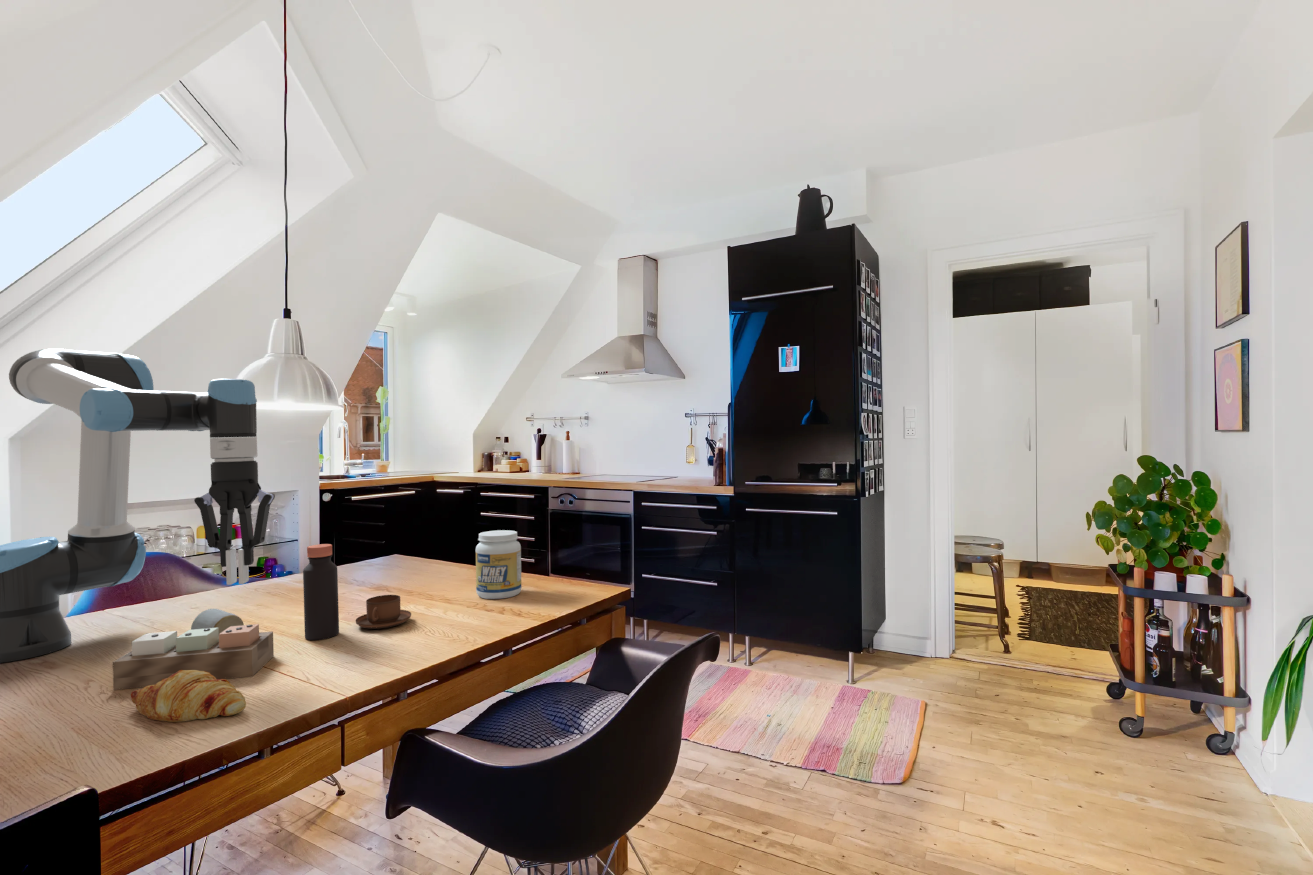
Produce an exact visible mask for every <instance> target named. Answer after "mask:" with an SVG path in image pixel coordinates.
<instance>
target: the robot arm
mask: <svg viewBox="0 0 1313 875" xmlns="http://www.w3.org/2000/svg"><path fill="white" fill-rule="evenodd" d="M8 372H9V373H8V378H9V383H10V385H11V387H12V389H13V390H14V391H15V392H16V393H17V394H18V395H19V396H20V397H21V396H22V397H23V398H25V399H27V400H29V401H32V402H33V403H38V404H43V405H52V404H53V405H56V406H58V407H61V408H63V409H66V410H68V411H71V412H73V413H75V414H76V415H77V416H78V417H79V418H80V420H81V421H80V422H81V423H80V424H81V425H80V443H79V444H80V446H79V447H80V448H79V449H80V450H79V471H78V472H79V474H78V495H77V497H78V499H77V502H78V503H77V523H76V524H75V525H73V526H72V527H71V528H70V529H68V531H67V540H65V541H59V539H58V538H57V537H55V536H41V537H36V538H35V537H34V538H26V539H21V540H17V541H11V542H8V543H4V544H0V664H1V663H9V662H16V661H21V660H26V659H30V658H35V657H40V656H43V655H47V654H50V653H53V652H57V651H59V650H62V649H64V648H66V647H68V646H70V645H71V644H72V633H71V630H70V628H69V626H68V624H67V622H66V620H65V618H64V615H63V613H62V612H61V610H60V596H62V595H68V594H74V593H79V592H85V591H89V590H95V589H100V588H101V589H102V588H110V587H115V586H117V585H121V584H124V583H128V582H131V581H133V580H134V579H136V577H137V576H139V574H140V573H141V572H142V570H143V567H144V565H145V560H146V556H147V554H146V553H147V549H146V548H147V547H146V545H145V539H144V538H143V536H142V535H141V534H139V533H137V532H135V528H136V527H135V526H133V525H132V524H131V523H129V522H128V521H127V520H128V504H129V503H128V501H129V499H128V498H129V478H130V476H129V475H130V456H131V453H130V452H131V433H132V431H134V432H136V431H137V432H138V431H143V432H144V431H147V432H148V431H166V432H167V431H175V432H176V431H177V432H178V431H188V432H204V431H209V448H210V449H209V450H210V452H209V454H210V458H211V460H214V461H212V462H211V464H210V480H211V482H210V483H211V484H210V487H209V488H208V492H207V493H205V494H203V495H201V496H198V497H195V498H194V501H193V502H194V503H195V505H196V506H197V508H198V509H199V511H200V515H201V519H202V524H203V529H204V534H205V537H206V541H207V545H208V547H209V548H214V549H218V550H219V551H220V552H219V553H220V554H219V555H220V556H219V557H220V566H221V568H225V569H226V570H225V572H226V574H225V577H226V585H227V586H231V585H233V584H235V583H237V582H238V584H239V585H243V584H246V583H247V582H249V581H250V573H249V571H250V570H249V566H251V565H253V564H254V560H255V558H254V554H255V553H254V551H255V550H254V548H255V546H258V545H260V544H263V543H264V542H265V538H266V532H267V527H268V522H269V521H268V520H269V514H270V508H271V505H272V502H274V500H275V498H276V495H275V493H269V492H268V491H267V492H266V491H264V490H262V487H261V485H260V483H259V464H258V462H257V460H255V459H256V458H257V457H258V437H257V431H258V430H257V429H258V428H257V424H258V423H257V402H258V400H257V398H256V388H255V387H256V386H255V383H254V382H253V381H251V380H248V379H240V378H215V379H212V380H210V381H209V383H208V388H207V391H204V392H203V391H202V392H199V391H198V392H195V391H173V390H172V391H171V390H154V380H153V376H152V373H151V371H150V368H148V365H147V363H146V362H144V360H142V359H141V358H140V357H138V356H135V355H131V354H124V353H118V352H104V351H89V350H78V349H76V350H74V349H67V348H65V349H64V348H45V349H39V350H34V351H31V352H28V353H25V354H23V355H22V356H21V357H19V358H18V359H17V360H15V361H14V362H13V364H12V365H11V366H10V369H9V371H8ZM257 497H258V498H257ZM256 498H257V499H258V501H257V502H259V505H258V508H257V512H256V520H255V527H254V528H253V519H252V511H253V509H252V504H253V502H254V501H255V500H256ZM214 501H215V502H216V503H217V505H218V506H219V516H220V520H219V528H218V524H217V523H218V522H217V520H216V515H215V510H214V507H213V502H214ZM235 509H237V514H238V517H239V526H240V536H241V547H240V548H239V549H237V548H236V547H233V546H234V544H233V543H232V541H233V525H234V524H233V521H234V520H233V519H234V518H233V517H234V512H235ZM237 560H238V561H237ZM237 566H238V568H237ZM237 569H238V570H237ZM237 571H238V572H237ZM237 575H238V576H237Z"/></svg>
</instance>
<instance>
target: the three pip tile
mask: <svg viewBox="0 0 1313 875" xmlns="http://www.w3.org/2000/svg"><path fill="white" fill-rule="evenodd" d="M259 633H260V624H259V623H257V624H256V623H255V624H244V625H242V626H230V627H229V628H227V629H226V630H224V631H223V632H221V633H220V634H219V648H227V647H238V646H249V645H252V644H253V643H254V642H255V641H257V640H258V639H259Z"/></svg>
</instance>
